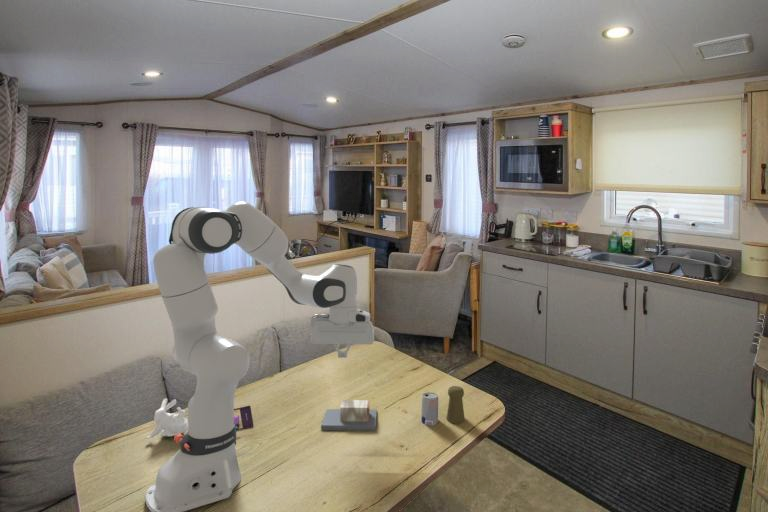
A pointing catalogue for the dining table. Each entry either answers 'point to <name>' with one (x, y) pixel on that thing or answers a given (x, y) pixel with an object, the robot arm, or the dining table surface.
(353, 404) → the block
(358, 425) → the slate board
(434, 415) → the energy drink
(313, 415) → the dining table surface
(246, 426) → the purple box
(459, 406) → the brown pawn shape
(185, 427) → the rabbit figurine
